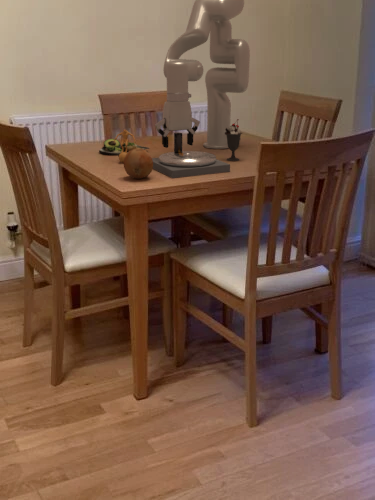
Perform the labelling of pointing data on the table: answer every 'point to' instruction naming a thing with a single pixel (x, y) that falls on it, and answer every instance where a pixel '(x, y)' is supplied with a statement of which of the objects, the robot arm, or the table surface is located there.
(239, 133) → the sundae
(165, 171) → the instrument base
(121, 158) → the figurine
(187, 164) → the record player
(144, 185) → the table surface
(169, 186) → the table surface
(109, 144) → the avocado toast plate
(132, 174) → the onion
